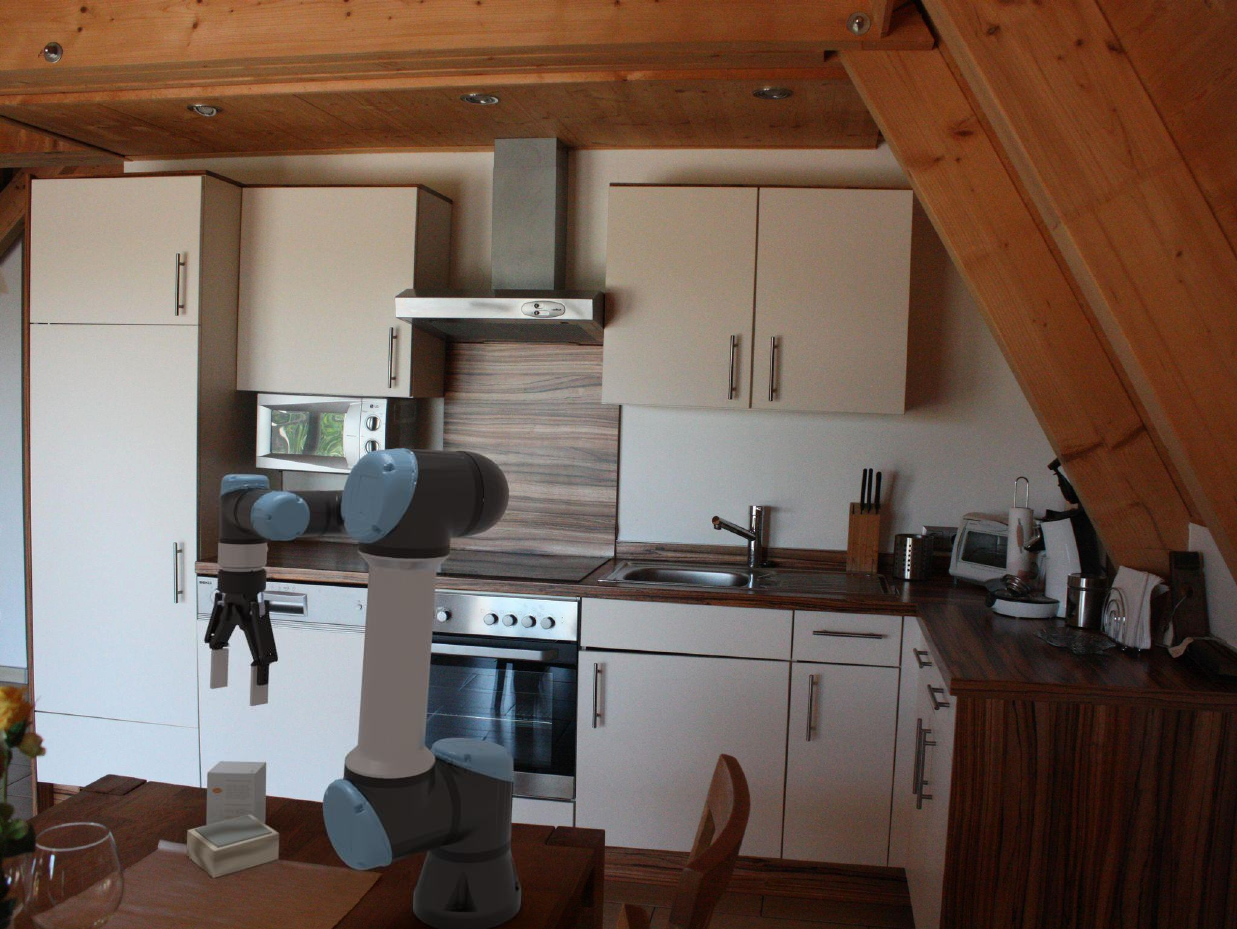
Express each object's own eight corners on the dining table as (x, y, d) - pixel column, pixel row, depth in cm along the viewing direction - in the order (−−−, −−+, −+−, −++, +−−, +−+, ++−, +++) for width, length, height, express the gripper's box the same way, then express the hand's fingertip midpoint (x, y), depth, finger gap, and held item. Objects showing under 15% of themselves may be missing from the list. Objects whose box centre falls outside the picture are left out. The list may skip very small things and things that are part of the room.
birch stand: (278, 859, 149) (279, 831, 149) (213, 877, 142) (214, 849, 142) (249, 838, 156) (250, 812, 156) (186, 855, 149) (187, 828, 149)
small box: (265, 823, 163) (267, 761, 163) (254, 836, 157) (256, 772, 157) (217, 821, 163) (219, 760, 162) (204, 835, 157) (206, 771, 157)
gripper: (303, 575, 154) (298, 707, 154) (228, 558, 170) (224, 677, 171) (258, 579, 148) (254, 716, 149) (185, 560, 165) (181, 684, 165)
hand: (238, 695), depth 160 cm, fingers open, 13 cm apart
